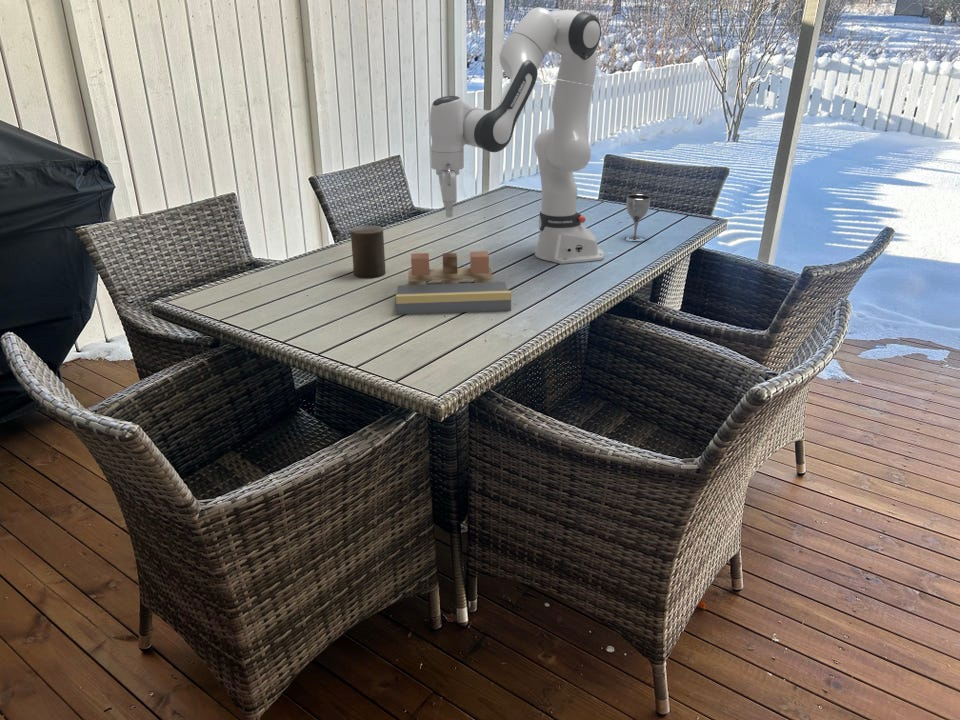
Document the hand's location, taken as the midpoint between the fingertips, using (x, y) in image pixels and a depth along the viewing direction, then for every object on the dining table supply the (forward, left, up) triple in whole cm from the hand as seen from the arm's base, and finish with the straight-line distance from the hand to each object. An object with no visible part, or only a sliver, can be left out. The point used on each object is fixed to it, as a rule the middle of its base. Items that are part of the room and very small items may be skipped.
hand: (448, 212), depth 187 cm
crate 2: (-9, 0, -17) cm, 19 cm away
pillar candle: (+24, -13, -21) cm, 35 cm away
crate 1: (+8, 0, -17) cm, 19 cm away
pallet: (0, 0, -21) cm, 21 cm away
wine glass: (-67, -41, -21) cm, 81 cm away
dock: (0, +15, -21) cm, 26 cm away
